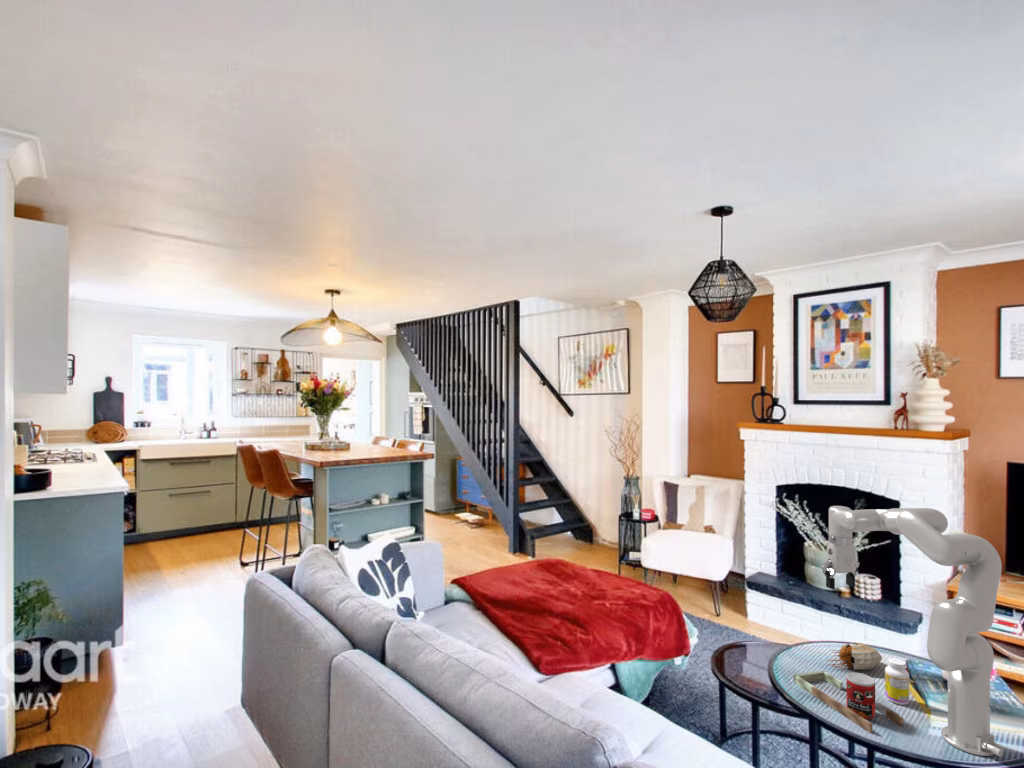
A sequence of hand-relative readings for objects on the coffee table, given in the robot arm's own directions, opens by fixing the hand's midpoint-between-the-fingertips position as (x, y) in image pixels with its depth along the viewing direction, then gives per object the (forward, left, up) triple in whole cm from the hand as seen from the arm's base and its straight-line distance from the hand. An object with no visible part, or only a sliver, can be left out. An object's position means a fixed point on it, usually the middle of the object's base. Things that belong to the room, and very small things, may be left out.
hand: (840, 586), depth 203 cm
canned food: (-24, +17, -31) cm, 42 cm away
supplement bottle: (-21, -2, -31) cm, 37 cm away
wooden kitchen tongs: (-18, +15, -31) cm, 38 cm away
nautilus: (+2, -7, -31) cm, 32 cm away
